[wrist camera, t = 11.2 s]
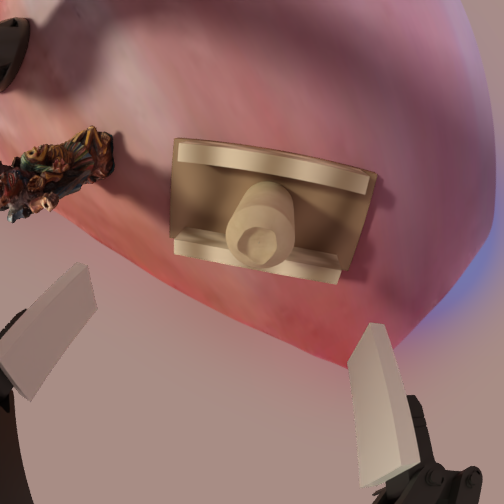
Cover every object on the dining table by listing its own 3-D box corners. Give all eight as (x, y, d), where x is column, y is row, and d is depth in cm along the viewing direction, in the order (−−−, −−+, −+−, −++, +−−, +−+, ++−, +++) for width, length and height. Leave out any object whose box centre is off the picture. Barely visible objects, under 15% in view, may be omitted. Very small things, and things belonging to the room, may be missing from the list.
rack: (173, 233, 33) (157, 250, 29) (178, 137, 28) (160, 141, 24) (346, 265, 32) (353, 287, 28) (374, 172, 27) (388, 182, 23)
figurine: (121, 99, 26) (-8, 120, 10) (139, 166, 30) (22, 230, 14) (67, 131, 29) (-39, 169, 13) (84, 188, 33) (-14, 248, 17)
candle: (294, 228, 30) (295, 278, 21) (244, 229, 31) (226, 277, 22) (292, 179, 27) (294, 210, 19) (240, 181, 28) (217, 212, 19)
